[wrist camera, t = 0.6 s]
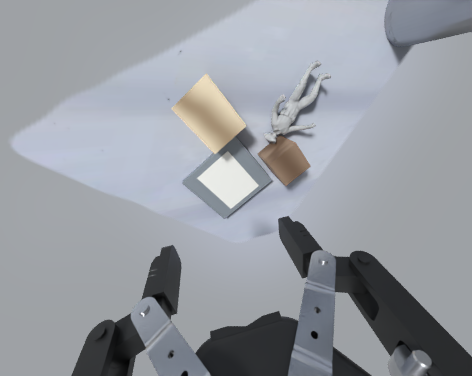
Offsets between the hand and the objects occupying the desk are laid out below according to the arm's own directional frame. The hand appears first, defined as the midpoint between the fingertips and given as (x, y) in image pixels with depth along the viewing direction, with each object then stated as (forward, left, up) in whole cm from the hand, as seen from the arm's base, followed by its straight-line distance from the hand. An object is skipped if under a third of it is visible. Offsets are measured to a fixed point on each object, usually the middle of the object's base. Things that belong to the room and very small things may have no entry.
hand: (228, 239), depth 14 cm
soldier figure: (-21, +1, -20) cm, 29 cm away
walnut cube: (-9, +8, -20) cm, 24 cm away
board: (0, +5, -20) cm, 21 cm away
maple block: (-5, -5, -21) cm, 22 cm away
